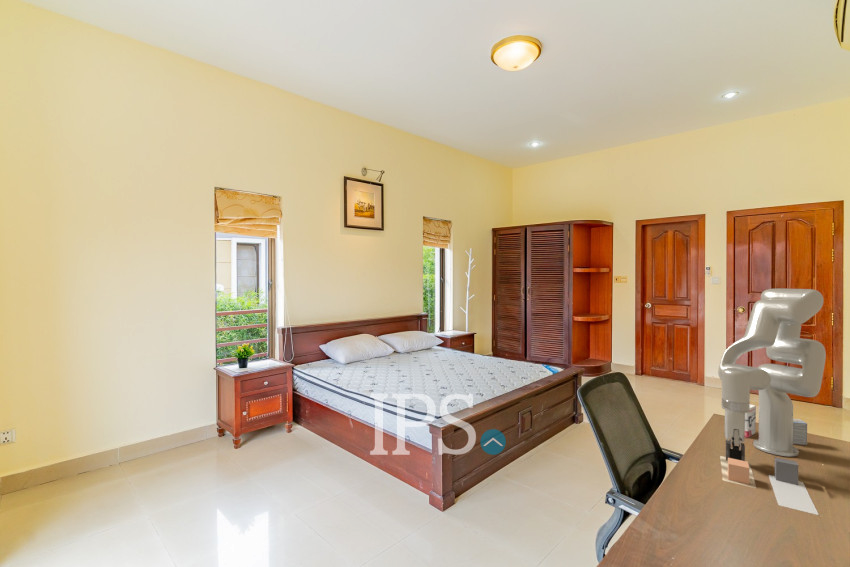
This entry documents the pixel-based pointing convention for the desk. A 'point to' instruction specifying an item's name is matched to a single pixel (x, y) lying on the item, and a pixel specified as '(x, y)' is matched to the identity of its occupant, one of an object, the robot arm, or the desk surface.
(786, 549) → the desk surface
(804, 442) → the medicine box
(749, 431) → the ink box
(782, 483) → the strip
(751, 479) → the cube strip
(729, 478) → the cube
